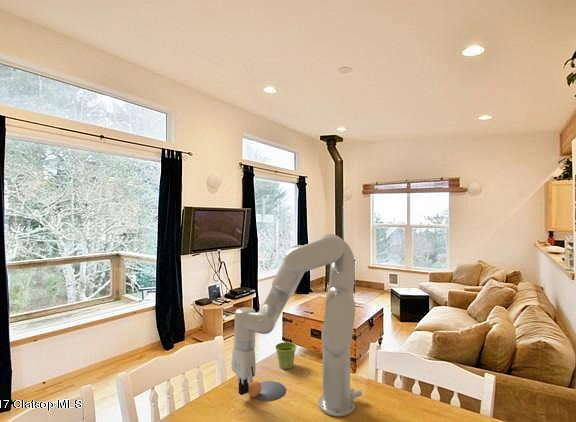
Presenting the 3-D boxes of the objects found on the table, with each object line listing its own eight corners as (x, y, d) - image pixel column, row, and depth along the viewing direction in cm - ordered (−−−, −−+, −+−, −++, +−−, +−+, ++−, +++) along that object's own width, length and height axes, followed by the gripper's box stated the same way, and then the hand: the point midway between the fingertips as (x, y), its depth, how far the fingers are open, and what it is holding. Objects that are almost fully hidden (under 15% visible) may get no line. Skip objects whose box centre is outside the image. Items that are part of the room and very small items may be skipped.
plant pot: (270, 367, 145) (270, 347, 145) (283, 359, 153) (283, 340, 152) (288, 373, 139) (288, 352, 139) (300, 364, 147) (300, 345, 147)
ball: (247, 398, 124) (259, 390, 127) (254, 400, 119) (266, 391, 123) (241, 384, 124) (253, 376, 128) (248, 386, 120) (260, 377, 123)
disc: (277, 378, 135) (277, 378, 135) (291, 395, 123) (291, 394, 123) (246, 386, 130) (246, 385, 130) (258, 404, 118) (258, 403, 118)
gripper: (225, 338, 124) (224, 386, 125) (245, 353, 112) (244, 407, 113) (243, 333, 129) (242, 380, 129) (264, 347, 117) (263, 399, 117)
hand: (243, 392), depth 121 cm, fingers closed
